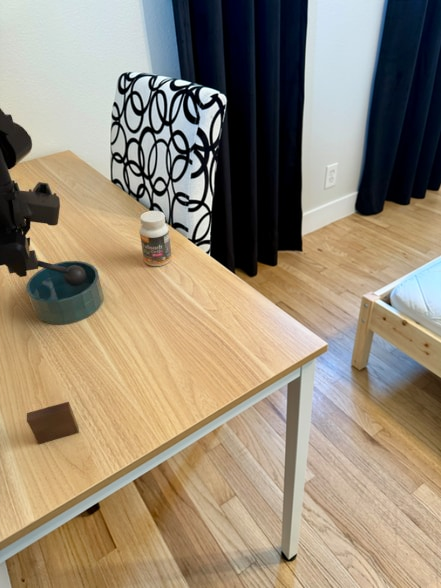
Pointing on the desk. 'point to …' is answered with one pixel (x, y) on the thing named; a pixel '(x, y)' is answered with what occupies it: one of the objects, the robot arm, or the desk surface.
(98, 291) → the bowl
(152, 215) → the pill bottle
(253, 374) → the desk surface
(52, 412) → the chocolate brown square
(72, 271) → the ladle
